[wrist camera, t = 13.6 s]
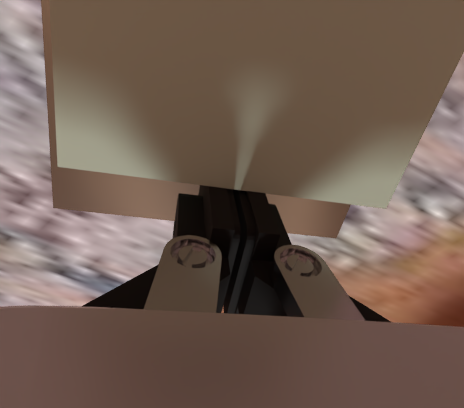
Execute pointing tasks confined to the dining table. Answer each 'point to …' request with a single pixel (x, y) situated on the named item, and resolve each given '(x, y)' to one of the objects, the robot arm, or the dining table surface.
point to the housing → (159, 183)
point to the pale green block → (252, 90)
